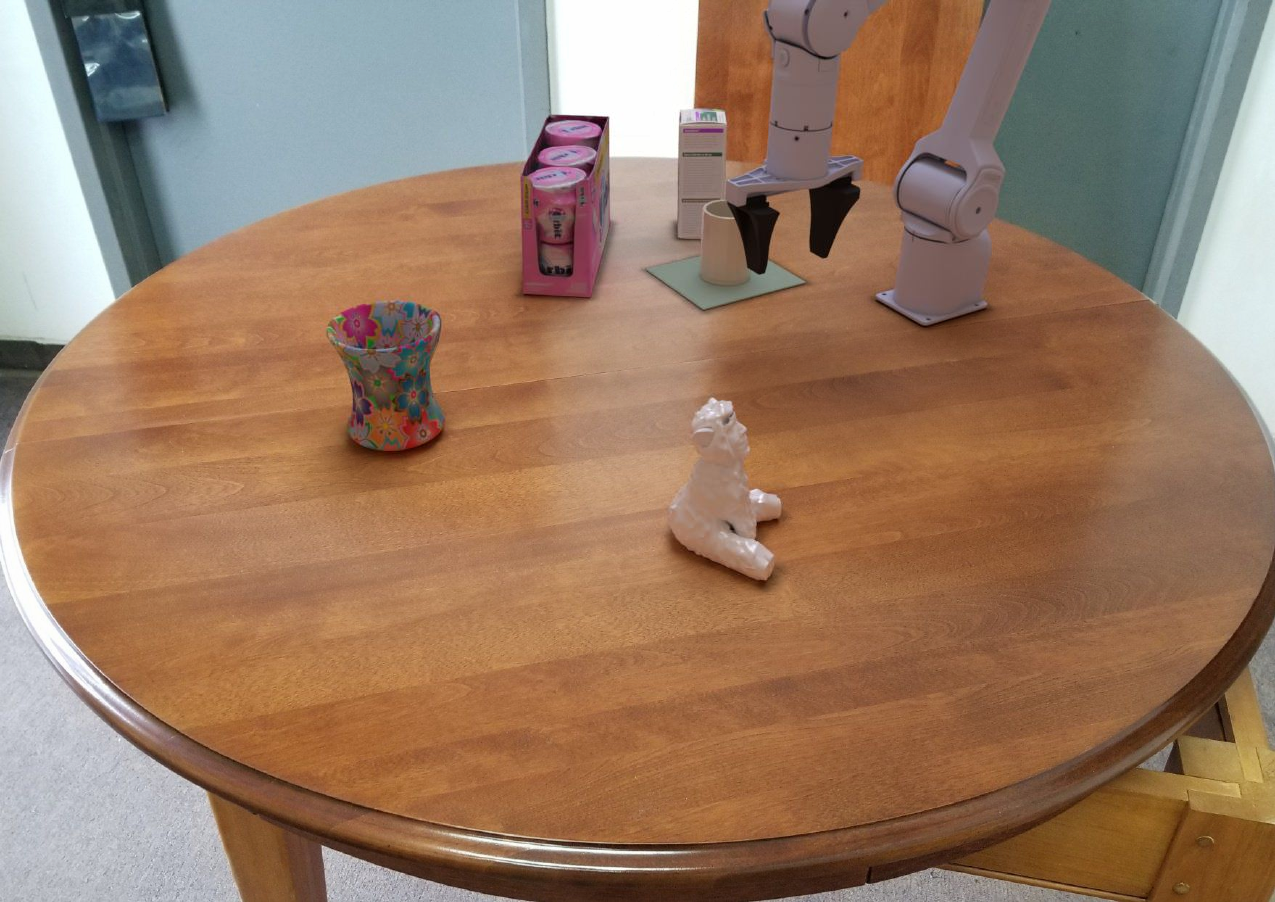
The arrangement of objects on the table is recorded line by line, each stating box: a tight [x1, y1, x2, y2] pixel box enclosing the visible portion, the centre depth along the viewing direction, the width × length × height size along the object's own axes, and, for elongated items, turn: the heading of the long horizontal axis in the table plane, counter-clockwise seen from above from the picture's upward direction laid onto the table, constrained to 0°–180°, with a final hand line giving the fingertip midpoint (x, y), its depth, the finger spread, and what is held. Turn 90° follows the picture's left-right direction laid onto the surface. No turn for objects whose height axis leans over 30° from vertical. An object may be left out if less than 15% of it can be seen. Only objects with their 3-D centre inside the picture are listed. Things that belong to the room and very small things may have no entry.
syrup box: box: [676, 108, 728, 240], centre depth 131 cm, size 6×6×14 cm
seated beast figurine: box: [667, 397, 782, 581], centre depth 80 cm, size 10×9×12 cm
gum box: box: [519, 113, 611, 298], centre depth 123 cm, size 24×8×14 cm, turn 176°
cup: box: [699, 200, 751, 286], centre depth 121 cm, size 6×6×8 cm
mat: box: [645, 255, 806, 311], centre depth 123 cm, size 14×12×1 cm
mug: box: [325, 300, 446, 452], centre depth 93 cm, size 12×9×11 cm
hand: (787, 262), depth 104 cm, fingers open, 7 cm apart
